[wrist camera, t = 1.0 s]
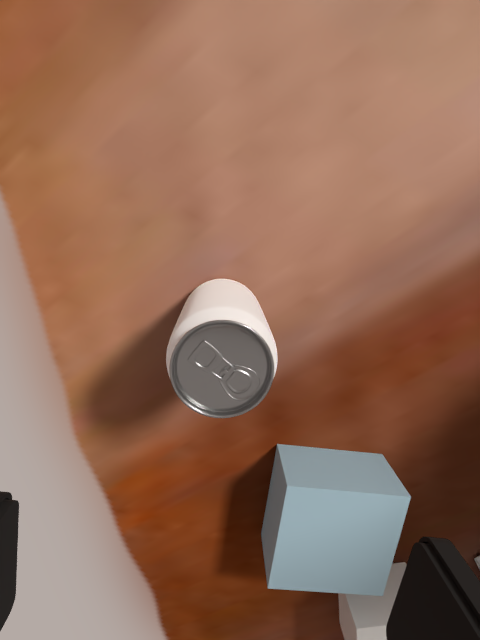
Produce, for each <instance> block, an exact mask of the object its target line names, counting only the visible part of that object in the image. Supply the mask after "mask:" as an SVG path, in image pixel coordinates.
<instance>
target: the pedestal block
mask: <svg viewBox="0 0 480 640" xmlns="http://www.w3.org/2000/svg"><path fill="white" fill-rule="evenodd" d="M410 499H411V496H410V495H409V493H408V492H407V490H406V489H405V487H404V486H403V484H402V483H401V481H400V480H399V478H398V477H397V475H396V474H395V472H394V471H393V469H392V468H391V467H390V465H389V464H388V462H387V461H386V459H385V458H384V456H383V455H382V454H375V453H364V452H354V451H344V450H333V449H323V448H312V447H302V446H291V445H281V444H277V448H276V453H275V459H274V465H273V470H272V476H271V481H270V487H269V493H268V498H267V504H266V509H265V515H264V521H263V526H262V532H261V538H262V546H263V554H264V562H265V570H266V579H267V587H268V588H269V589H284V590H299V591H313V592H328V593H343V594H358V595H372V596H383V594H384V590H385V587H386V583H387V580H388V576H389V573H390V569H391V566H392V562H393V559H394V555H395V552H396V548H397V545H398V541H399V538H400V534H401V531H402V527H403V524H404V520H405V516H406V513H407V509H408V506H409V502H410Z"/></svg>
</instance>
